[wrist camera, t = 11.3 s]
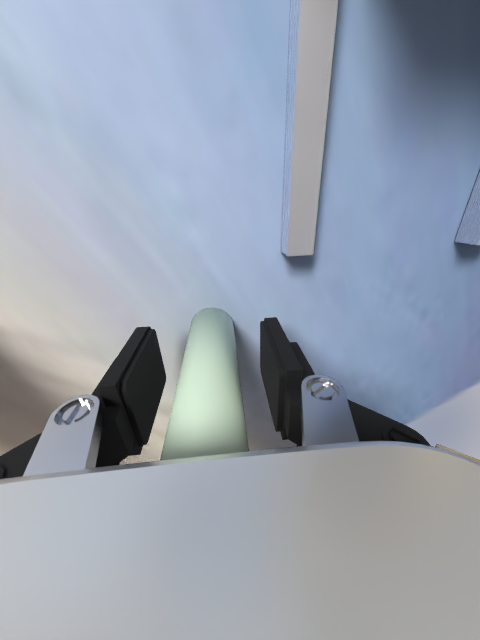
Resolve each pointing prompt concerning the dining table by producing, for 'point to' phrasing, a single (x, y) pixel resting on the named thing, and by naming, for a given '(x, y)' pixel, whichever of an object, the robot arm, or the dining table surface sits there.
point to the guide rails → (320, 127)
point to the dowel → (207, 393)
